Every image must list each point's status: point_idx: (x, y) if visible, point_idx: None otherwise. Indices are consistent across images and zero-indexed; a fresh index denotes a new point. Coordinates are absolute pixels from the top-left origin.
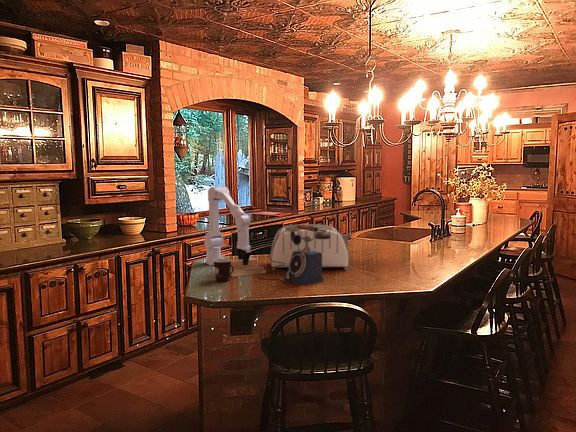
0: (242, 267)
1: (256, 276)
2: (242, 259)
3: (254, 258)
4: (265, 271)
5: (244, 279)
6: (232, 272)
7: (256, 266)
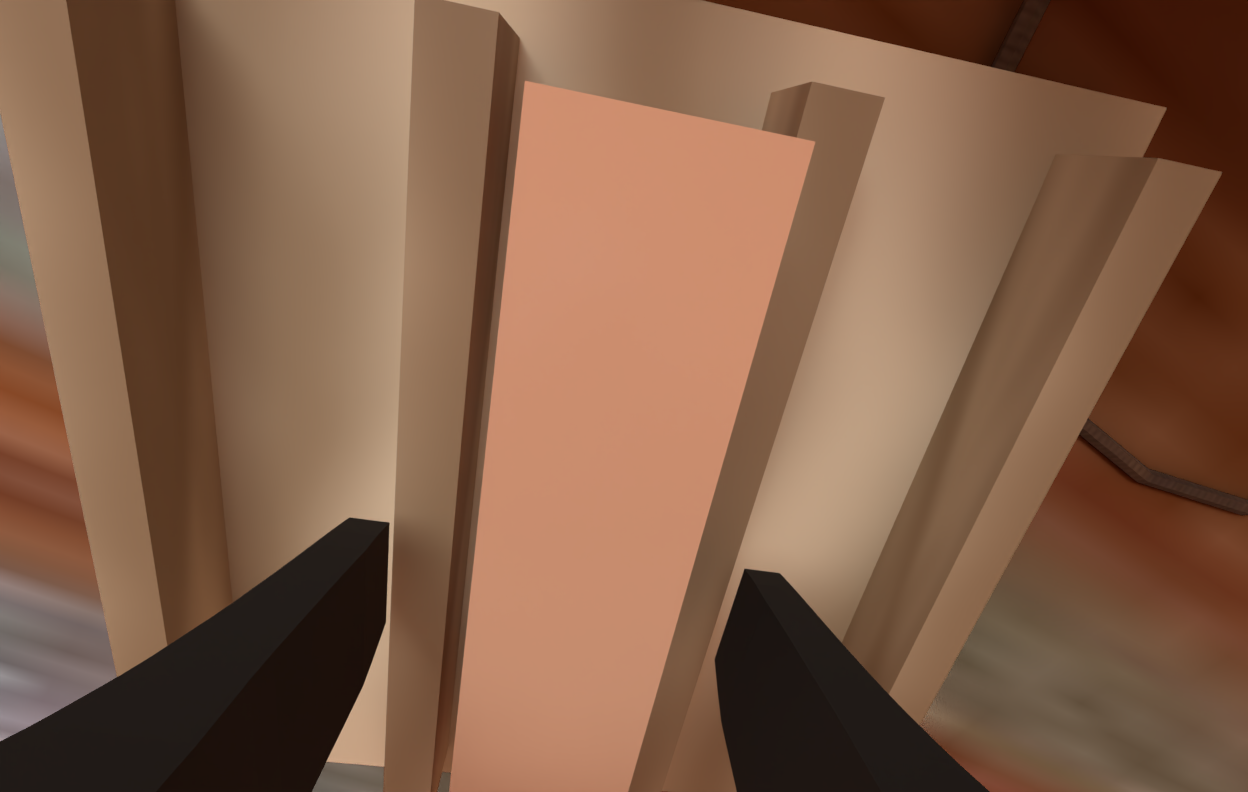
0: (706, 638)
1: (1142, 482)
2: (468, 706)
3: (579, 181)
4: (1142, 118)
5: (1086, 707)
6: (695, 761)
7: (822, 238)
